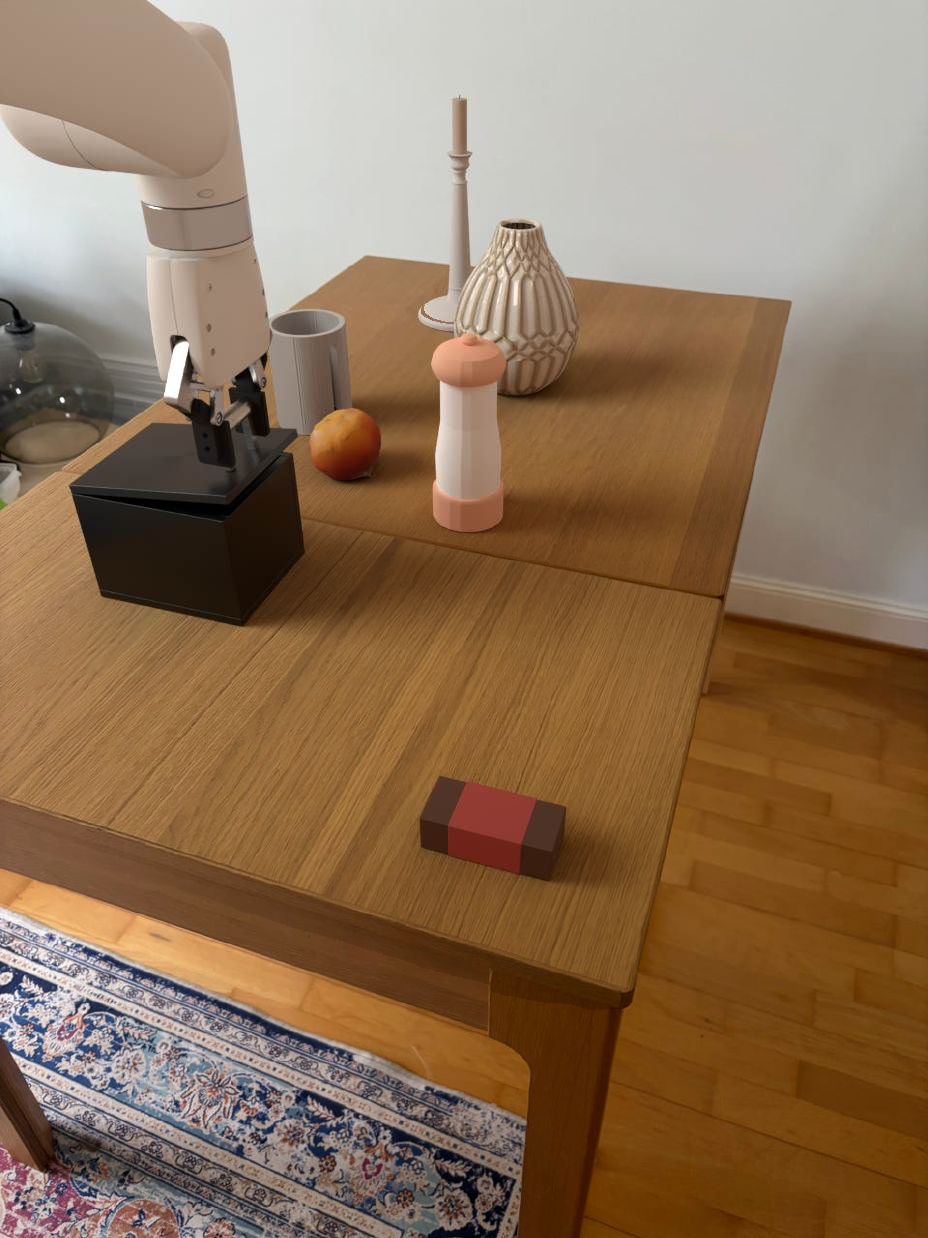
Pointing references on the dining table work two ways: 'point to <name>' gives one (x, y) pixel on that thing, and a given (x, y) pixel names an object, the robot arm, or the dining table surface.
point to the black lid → (184, 462)
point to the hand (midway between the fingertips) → (235, 446)
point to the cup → (309, 367)
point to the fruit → (345, 444)
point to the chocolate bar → (493, 827)
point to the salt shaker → (468, 435)
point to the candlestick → (455, 226)
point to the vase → (521, 307)
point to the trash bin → (197, 547)
